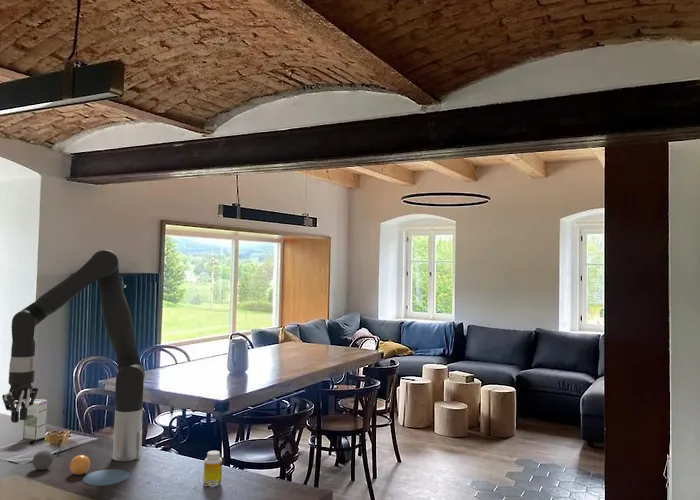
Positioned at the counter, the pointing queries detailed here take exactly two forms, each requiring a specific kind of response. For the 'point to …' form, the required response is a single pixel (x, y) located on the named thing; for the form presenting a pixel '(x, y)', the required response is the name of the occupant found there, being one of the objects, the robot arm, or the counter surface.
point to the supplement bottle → (212, 469)
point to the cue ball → (42, 460)
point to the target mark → (106, 477)
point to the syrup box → (35, 420)
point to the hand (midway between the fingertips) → (19, 420)
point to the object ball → (80, 464)
